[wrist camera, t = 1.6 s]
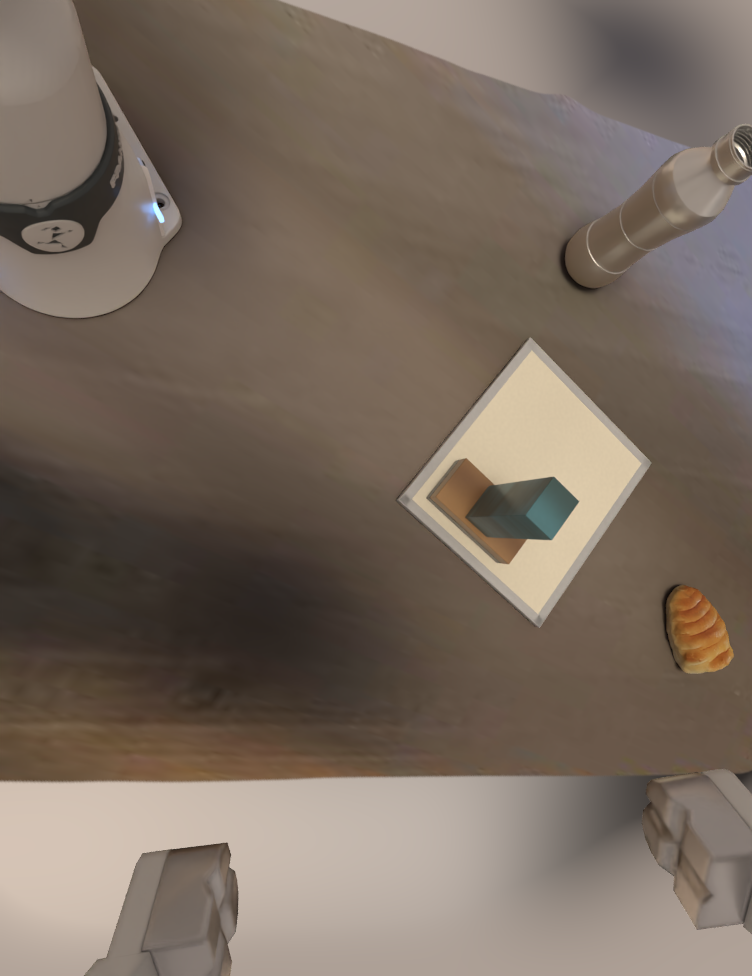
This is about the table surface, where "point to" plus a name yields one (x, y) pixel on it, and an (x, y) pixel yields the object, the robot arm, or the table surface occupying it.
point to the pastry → (696, 632)
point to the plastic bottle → (661, 209)
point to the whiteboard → (534, 474)
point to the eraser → (501, 509)
